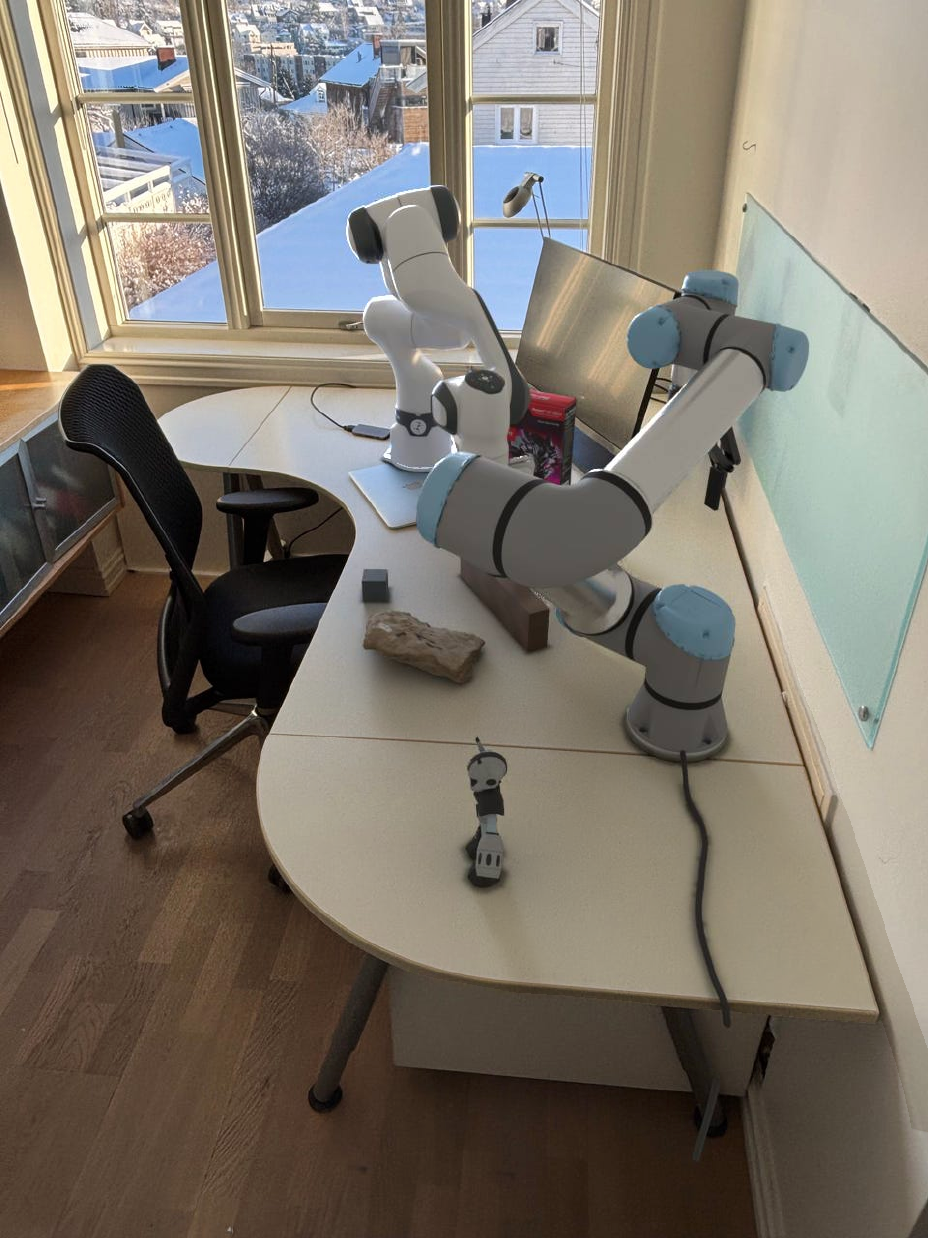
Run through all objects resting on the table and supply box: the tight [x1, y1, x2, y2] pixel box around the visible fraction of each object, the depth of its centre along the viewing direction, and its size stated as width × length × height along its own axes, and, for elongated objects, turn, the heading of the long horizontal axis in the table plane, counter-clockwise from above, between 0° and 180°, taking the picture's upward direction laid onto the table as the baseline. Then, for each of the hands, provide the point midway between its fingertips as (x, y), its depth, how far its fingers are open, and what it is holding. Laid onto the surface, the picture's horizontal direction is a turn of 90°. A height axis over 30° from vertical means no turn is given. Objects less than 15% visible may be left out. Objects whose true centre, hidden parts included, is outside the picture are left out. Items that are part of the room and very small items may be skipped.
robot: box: [465, 736, 508, 888], centre depth 115 cm, size 20×5×20 cm, turn 3°
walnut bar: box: [460, 558, 551, 653], centre depth 169 cm, size 28×4×8 cm, turn 25°
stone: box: [362, 609, 486, 684], centre depth 156 cm, size 21×15×6 cm
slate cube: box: [361, 568, 389, 603], centre depth 174 cm, size 4×4×4 cm
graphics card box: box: [507, 389, 578, 486], centre depth 195 cm, size 17×7×27 cm, turn 62°
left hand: (482, 531), depth 172 cm, fingers open, 8 cm apart
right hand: (676, 515), depth 146 cm, fingers open, 13 cm apart
